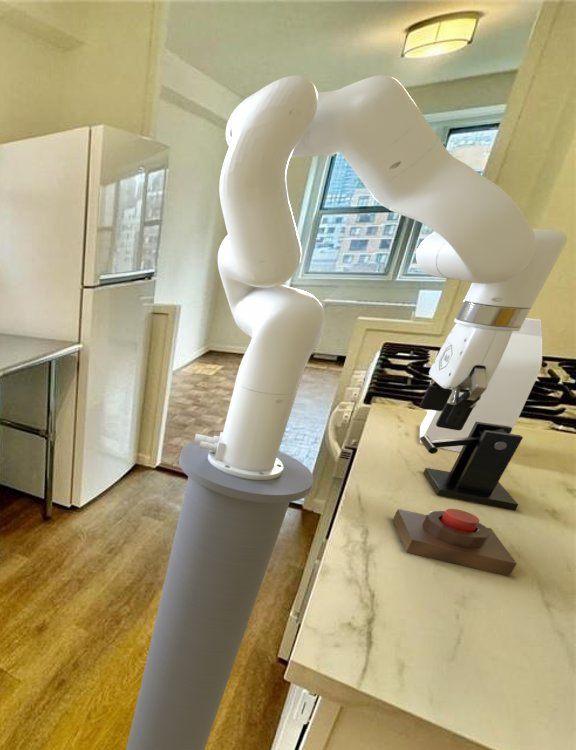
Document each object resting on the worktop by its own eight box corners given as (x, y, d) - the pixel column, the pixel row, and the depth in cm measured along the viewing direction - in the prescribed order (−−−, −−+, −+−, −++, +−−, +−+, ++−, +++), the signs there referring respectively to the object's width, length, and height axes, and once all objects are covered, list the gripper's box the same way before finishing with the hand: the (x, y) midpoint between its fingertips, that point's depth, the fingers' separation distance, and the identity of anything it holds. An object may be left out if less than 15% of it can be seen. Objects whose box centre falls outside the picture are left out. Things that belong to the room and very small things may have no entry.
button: (444, 528, 68) (449, 518, 67) (436, 516, 71) (442, 506, 70) (478, 536, 67) (483, 525, 66) (468, 522, 69) (474, 512, 69)
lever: (428, 457, 83) (428, 444, 82) (420, 445, 87) (419, 432, 87) (512, 451, 77) (512, 437, 77) (498, 438, 82) (498, 425, 81)
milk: (419, 443, 102) (477, 318, 90) (420, 426, 110) (472, 309, 98) (498, 460, 95) (571, 327, 83) (492, 441, 103) (558, 317, 91)
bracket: (436, 495, 83) (468, 433, 78) (422, 473, 90) (450, 414, 85) (515, 510, 79) (553, 445, 74) (494, 485, 86) (527, 425, 81)
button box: (406, 552, 69) (417, 529, 67) (392, 520, 76) (402, 498, 74) (509, 576, 64) (524, 552, 63) (484, 540, 72) (497, 518, 70)
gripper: (442, 305, 83) (399, 399, 91) (479, 322, 69) (425, 431, 77) (499, 310, 80) (450, 407, 87) (550, 329, 66) (486, 442, 74)
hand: (438, 418), depth 82 cm, fingers open, 9 cm apart
